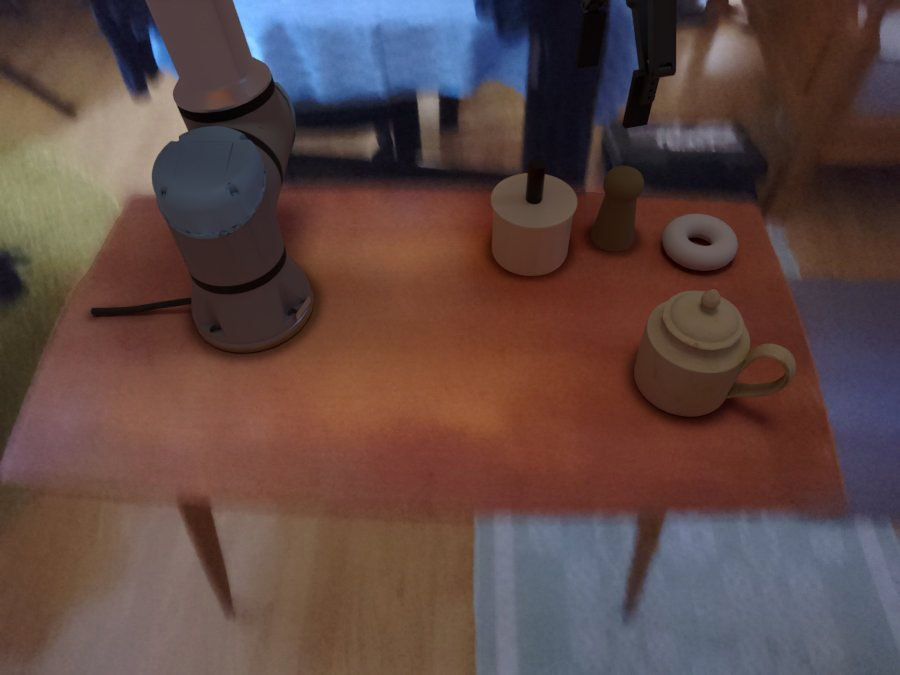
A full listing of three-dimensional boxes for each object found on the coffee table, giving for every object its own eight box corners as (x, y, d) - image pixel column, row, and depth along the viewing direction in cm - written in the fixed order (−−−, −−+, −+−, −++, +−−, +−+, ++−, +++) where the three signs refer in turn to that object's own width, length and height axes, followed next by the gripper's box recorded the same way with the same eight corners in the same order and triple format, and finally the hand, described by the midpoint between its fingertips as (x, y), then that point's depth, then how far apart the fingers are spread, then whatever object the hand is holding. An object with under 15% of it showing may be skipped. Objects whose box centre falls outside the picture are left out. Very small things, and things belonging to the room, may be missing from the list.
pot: (506, 283, 91) (508, 235, 85) (482, 233, 98) (483, 185, 91) (578, 267, 93) (586, 219, 86) (550, 219, 99) (556, 171, 93)
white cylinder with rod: (506, 241, 85) (509, 199, 80) (479, 188, 92) (480, 146, 87) (590, 224, 87) (597, 181, 82) (557, 173, 94) (562, 130, 89)
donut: (666, 277, 91) (742, 276, 91) (672, 258, 89) (750, 257, 88) (653, 227, 98) (724, 226, 97) (658, 208, 95) (731, 207, 95)
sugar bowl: (756, 350, 83) (802, 261, 71) (769, 427, 76) (823, 341, 64) (631, 338, 84) (657, 248, 73) (633, 412, 78) (662, 325, 66)
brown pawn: (609, 257, 94) (623, 193, 85) (581, 233, 97) (592, 169, 89) (642, 241, 96) (659, 176, 87) (614, 217, 99) (627, 153, 91)
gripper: (755, -69, 57) (689, 147, 73) (627, -155, 73) (596, 40, 89) (674, -59, 56) (625, 159, 72) (561, -148, 71) (542, 48, 88)
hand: (609, 94), depth 81 cm, fingers open, 13 cm apart
